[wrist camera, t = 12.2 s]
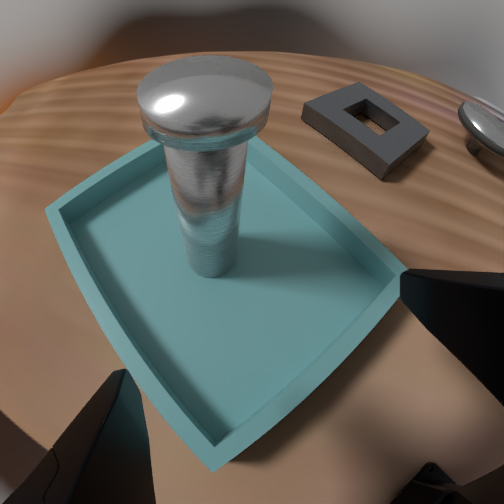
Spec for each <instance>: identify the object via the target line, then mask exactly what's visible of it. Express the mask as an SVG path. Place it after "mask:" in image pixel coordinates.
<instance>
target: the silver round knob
mask: <svg viewBox="0 0 504 504" xmlns="http://www.w3.org/2000/svg"><path fill="white" fill-rule="evenodd" d="M458 116H459V120H460V122H461V124H462V125H463V127H464V128H465V129H466V131H467V132H468V133H469V134H470V135H471V136H472V137H471V139H470V140H469V142H468V143H467V145H466V147H467V149H468V150H469V151H470V152H471V153H472V154H474V155H478V154H479V152H480V151H481V150H482V148H483V147H484V148H485V149H487V150H488V151H489V152H491V153H493V154H494V155H496V156H499V157H504V125H503V124H502V123H501V122H500V121H499V120H498V119H497V118H496V117H495V116H494V115H493V114H491V113H490V112H489V111H487V110H486V109H485V108H483V107H482V106H480V105H478V104H476V103H473V102H470V101H467V102H463V103H462V104H461V105H460V107H459V109H458Z"/></svg>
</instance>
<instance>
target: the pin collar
mask: <svg viewBox="0 0 504 504" xmlns="http://www.w3.org/2000/svg"><path fill="white" fill-rule="evenodd" d="M359 113H363V114H364V115H366V116H367V117H369V118H370V119H371V120H373V121H374V122H376V123H377V124H378V125H380V126H381V127H383V128H384V129H385V130H387V132H385V133H384V134H382V135H381V136H379V135H378V134H377V133H375V132H374V131H373V130H371V129H370V128H369V127H367V126H366V125H364V124H363V123H362V122H360V121H359V120H357V119H356V118H354V117H353V116H355V115H357V114H359ZM301 119H302V120H303V121H305V122H306V123H308V124H309V125H311V126H312V127H313V128H315V129H316V130H318V131H319V132H320V133H322V134H323V135H325V136H326V137H327V138H329V139H330V140H331V141H333V142H334V143H335V144H337V145H338V146H339V147H341V148H342V149H343V150H345V151H346V152H347V153H349V154H350V155H351V156H352V157H354V158H355V159H356V160H358V161H359V162H360V163H361V164H363V165H364V166H365V167H366V168H367V169H369V170H370V171H371V172H372V173H374V174H375V175H376V176H377V177H378V178H379V179H383V178H384V177H385V176H386V175H387V174H388V173H390V172H391V171H392V170H393V169H394V168H395V167H397V166H398V165H399V164H400V163H401V162H402V161H403V160H405V159H406V158H407V157H408V156H409V155H410V154H411V153H413V152H414V151H415V150H416V149H417V148H418V147H419V146H421V145H422V144H423V142H424V140H425V139H426V137H427V135H428V133H429V132H430V131H429V130H428V129H427V128H426V127H424V126H423V125H422V124H420V123H419V122H418V121H416V120H415V119H414V118H412V117H411V116H410V115H408V114H407V113H406V112H404V111H403V110H401V109H400V108H399V107H397V106H396V105H394V104H393V103H391V102H390V101H388V100H387V99H385V98H384V97H382V96H381V95H379V94H378V93H376V92H375V91H373V90H372V89H370V88H368V87H367V86H365V85H364V84H362V83H360V82H357V83H355V84H352V85H349V86H346V87H344V88H341V89H338V90H336V91H333V92H330V93H328V94H325V95H323V96H320V97H318V98H315V99H313V100H310V101H308V102H306V103H304V106H303V111H302V116H301Z"/></svg>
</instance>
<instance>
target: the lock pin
mask: <svg viewBox="0 0 504 504" xmlns="http://www.w3.org/2000/svg"><path fill="white" fill-rule="evenodd" d="M272 91H273V83H272V80H271V78H270V76H269V75H268V74H267V73H266V72H265V71H264V70H263V69H261V68H260V67H258V66H256V65H254V64H252V63H250V62H248V61H245V60H241V59H238V58H233V57H227V56H218V55H203V56H193V57H187V58H182V59H178V60H175V61H172V62H169V63H166V64H164V65H162V66H160V67H158V68H156V69H154V70H153V71H151V72H150V73H149V74H147V75H146V76H145V77H144V78H143V79H142V81H141V82H140V84H139V86H138V88H137V98H138V103H139V109H140V114H141V119H142V124H143V127H144V130H145V131H146V133H147V134H148V135H149V136H150V137H151V138H152V139H153V140H155V141H156V142H158V143H160V144H162V145H164V151H165V156H166V162H167V168H168V173H169V178H170V184H171V189H172V194H173V199H174V204H175V209H176V214H177V218H178V223H179V228H180V232H181V237H182V241H183V246H184V250H185V255H186V259H187V262H188V265H189V267H190V268H191V269H192V270H193V271H194V272H195V273H196V274H198V275H200V276H202V277H207V278H216V277H220V276H223V275H225V274H226V273H228V272H229V271H230V270H231V269H232V268H233V266H234V264H235V262H236V259H237V249H238V238H239V227H240V217H241V206H242V196H243V186H244V176H245V166H246V156H247V147H248V140H250V139H252V138H253V137H254V136H256V135H257V134H258V133H259V132H260V131H261V130H262V129H263V128H264V127H265V125H266V123H267V120H268V116H269V109H270V103H271V97H272Z"/></svg>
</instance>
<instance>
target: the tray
mask: <svg viewBox="0 0 504 504" xmlns="http://www.w3.org/2000/svg"><path fill="white" fill-rule="evenodd" d="M45 212H46V215H47V217H48V220H49V222H50V225H51V227H52V230H53V232H54V235H55V237H56V239H57V242H58V244H59V246H60V249H61V251H62V253H63V255H64V258H65V260H66V262H67V264H68V266H69V268H70V270H71V272H72V274H73V276H74V278H75V281H76V282H77V284H78V286H79V288H80V290H81V292H82V294H83V296H84V298H85V300H86V302H87V304H88V305H89V307H90V309H91V311H92V313H93V314H94V316H95V318H96V320H97V321H98V323H99V325H100V327H101V328H102V330H103V332H104V333H105V335H106V337H107V338H108V340H109V341H110V343H111V345H112V346H113V348H114V349H115V351H116V353H117V354H118V356H119V357H120V359H121V360H122V362H123V363H124V365H125V366H126V368H127V369H128V371H129V372H130V374H131V375H132V376H133V378H134V379H135V381H136V382H137V383H138V385H139V386H140V388H141V389H142V390H143V392H144V393H145V394H146V396H147V397H148V399H149V400H150V401H151V402H152V404H153V405H154V406H155V408H156V409H157V410H158V412H159V413H160V414H161V415H162V417H163V418H164V419H165V420H166V421H167V423H168V424H169V425H170V426H171V428H172V429H173V430H174V431H175V432H176V434H177V435H178V436H179V437H180V438H181V439H182V440H183V442H184V443H185V444H186V445H187V446H188V447H189V448H190V449H191V451H192V452H193V453H194V454H195V455H196V456H197V457H198V458H199V459H200V460H201V461H202V462H203V463H204V465H205V466H206V467H207V468H208V469H209V470H210V471H211V472H212V473H213V472H214V471H216V470H217V469H219V468H220V467H222V466H223V465H224V464H226V463H227V462H229V461H230V460H231V459H233V458H234V457H235V456H237V455H238V454H239V453H241V452H242V451H243V450H245V449H246V448H247V447H248V446H250V445H251V444H252V443H254V442H255V441H256V440H257V439H259V438H260V437H261V436H262V435H264V434H265V433H266V432H267V431H268V430H270V429H271V428H272V427H273V426H274V425H276V424H277V423H278V422H279V421H280V420H281V419H283V418H284V417H285V416H286V415H287V414H288V413H289V412H291V411H292V410H293V409H294V408H295V407H296V406H297V405H298V404H299V403H301V402H302V401H303V400H304V399H305V398H306V397H307V396H308V395H309V394H310V393H311V392H312V391H313V390H315V389H316V388H317V387H318V386H319V385H320V384H321V383H322V382H323V381H324V380H325V379H326V378H327V377H328V376H329V375H330V374H331V373H332V372H333V371H334V370H335V369H336V368H337V367H338V366H339V365H340V364H341V363H342V362H343V361H344V359H345V358H346V357H347V356H348V355H349V354H350V353H351V352H352V351H353V350H354V349H355V348H356V347H357V346H358V344H359V343H360V342H361V341H362V340H363V339H364V338H365V337H366V336H367V334H368V333H369V332H370V331H371V330H372V329H373V328H374V326H375V325H376V324H377V323H378V322H379V321H380V319H381V318H382V317H383V316H384V315H385V313H386V312H387V311H388V310H389V309H390V307H391V306H392V305H393V304H394V302H395V301H396V300H397V299H398V297H399V296H400V275H401V273H402V272H404V271H406V270H408V269H407V268H406V267H405V266H404V265H403V264H402V263H401V262H400V261H399V260H398V259H397V258H396V257H395V256H394V255H393V254H392V253H391V252H390V251H389V250H388V249H387V248H386V247H385V246H384V245H383V244H382V243H381V242H380V241H379V240H378V239H377V238H376V237H375V236H374V235H372V234H371V233H370V232H369V231H368V230H367V229H366V228H365V227H364V226H363V225H362V224H361V223H360V222H359V221H357V220H356V219H355V218H354V217H353V216H352V215H351V214H350V213H349V212H348V211H346V210H345V209H344V208H343V207H342V206H341V205H340V204H339V203H337V202H336V201H335V200H334V199H333V198H332V197H331V196H329V195H328V194H327V193H326V192H325V191H324V190H322V189H321V188H320V187H319V186H318V185H317V184H315V183H314V182H313V181H312V180H311V179H309V178H308V177H307V176H306V175H305V174H303V173H302V172H301V171H300V170H299V169H297V168H296V167H295V166H294V165H292V164H291V163H290V162H289V161H287V160H286V159H285V158H284V157H282V156H281V155H280V154H279V153H277V152H276V151H275V150H273V149H272V148H271V147H270V146H268V145H267V144H266V143H264V142H263V141H262V140H260V139H259V138H258V137H256V136H254V137H253V138H252V139H250V140H248V147H247V156H246V166H245V176H244V186H243V196H242V206H241V217H240V227H239V238H238V249H237V259H236V262H235V264H234V266H233V268H232V269H231V270H230V271H229V272H228V273H226V274H225V275H223V276H220V277H216V278H207V277H202V276H200V275H198V274H196V273H195V272H194V271H193V270H192V269H191V268H190V267H189V265H188V262H187V259H186V255H185V250H184V246H183V241H182V237H181V232H180V228H179V223H178V218H177V214H176V209H175V204H174V199H173V194H172V189H171V184H170V178H169V173H168V168H167V162H166V156H165V151H164V145H162V144H160V143H158V142H156V141H155V140H153V139H152V140H150V141H148V142H146V143H145V144H143V145H141V146H139V147H138V148H136V149H134V150H132V151H131V152H129V153H127V154H125V155H124V156H122V157H120V158H119V159H117V160H115V161H114V162H112V163H111V164H109V165H107V166H106V167H104V168H103V169H101V170H99V171H98V172H96V173H95V174H93V175H92V176H90V177H89V178H87V179H86V180H84V181H83V182H81V183H80V184H78V185H77V186H75V187H74V188H73V189H71V190H70V191H68V192H67V193H66V194H64V195H63V196H61V197H60V198H59V199H57V200H56V201H55V202H53V203H52V204H50V205H49V206H48V207H47V208H45Z"/></svg>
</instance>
